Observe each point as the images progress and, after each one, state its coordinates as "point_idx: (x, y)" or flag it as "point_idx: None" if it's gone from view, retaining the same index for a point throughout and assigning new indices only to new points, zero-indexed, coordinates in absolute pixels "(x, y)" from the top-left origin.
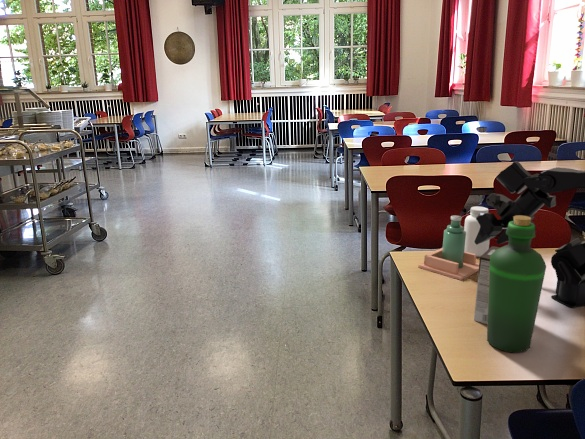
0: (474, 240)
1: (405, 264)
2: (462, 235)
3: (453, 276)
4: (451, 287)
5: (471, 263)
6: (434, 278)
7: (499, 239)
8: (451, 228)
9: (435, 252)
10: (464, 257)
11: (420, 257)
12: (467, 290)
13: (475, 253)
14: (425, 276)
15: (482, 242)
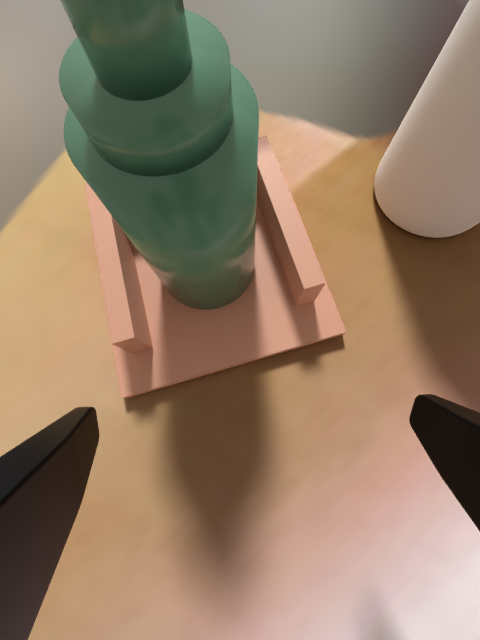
0: (431, 158)
1: None
2: (152, 206)
3: (116, 360)
4: (27, 437)
5: (292, 295)
6: (53, 325)
7: (447, 431)
8: (61, 87)
9: None
10: (283, 252)
11: None
12: None
13: (400, 216)
14: (42, 292)
15: (67, 529)
